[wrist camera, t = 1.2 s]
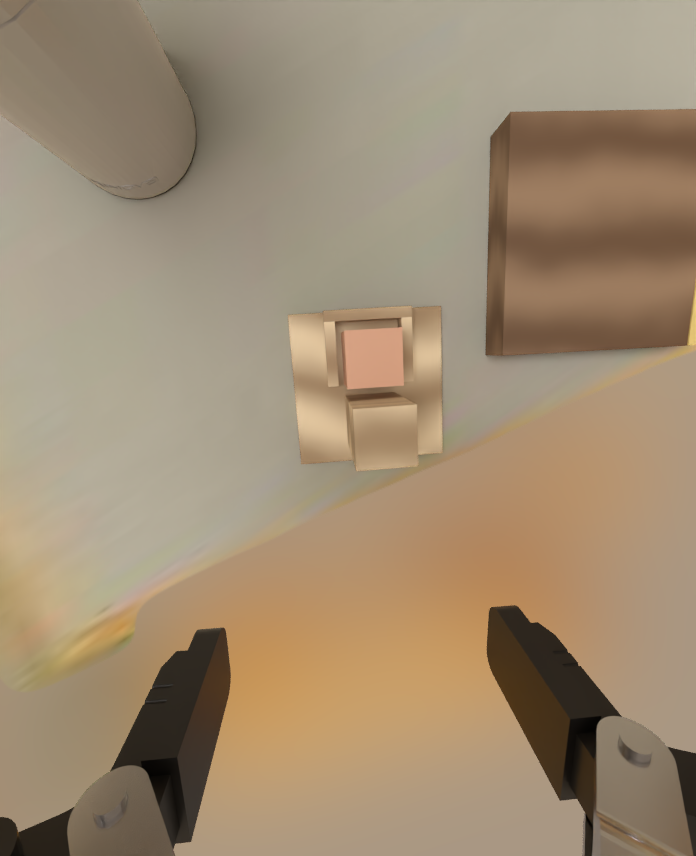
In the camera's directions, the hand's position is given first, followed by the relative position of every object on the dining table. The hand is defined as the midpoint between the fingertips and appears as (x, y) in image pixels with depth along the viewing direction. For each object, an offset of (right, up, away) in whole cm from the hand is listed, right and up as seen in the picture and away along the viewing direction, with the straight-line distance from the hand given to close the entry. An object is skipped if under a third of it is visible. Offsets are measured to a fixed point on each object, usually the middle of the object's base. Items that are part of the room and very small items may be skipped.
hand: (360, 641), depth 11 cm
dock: (+19, +21, +19) cm, 34 cm away
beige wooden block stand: (+1, +10, +20) cm, 23 cm away
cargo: (+1, +12, +19) cm, 22 cm away
